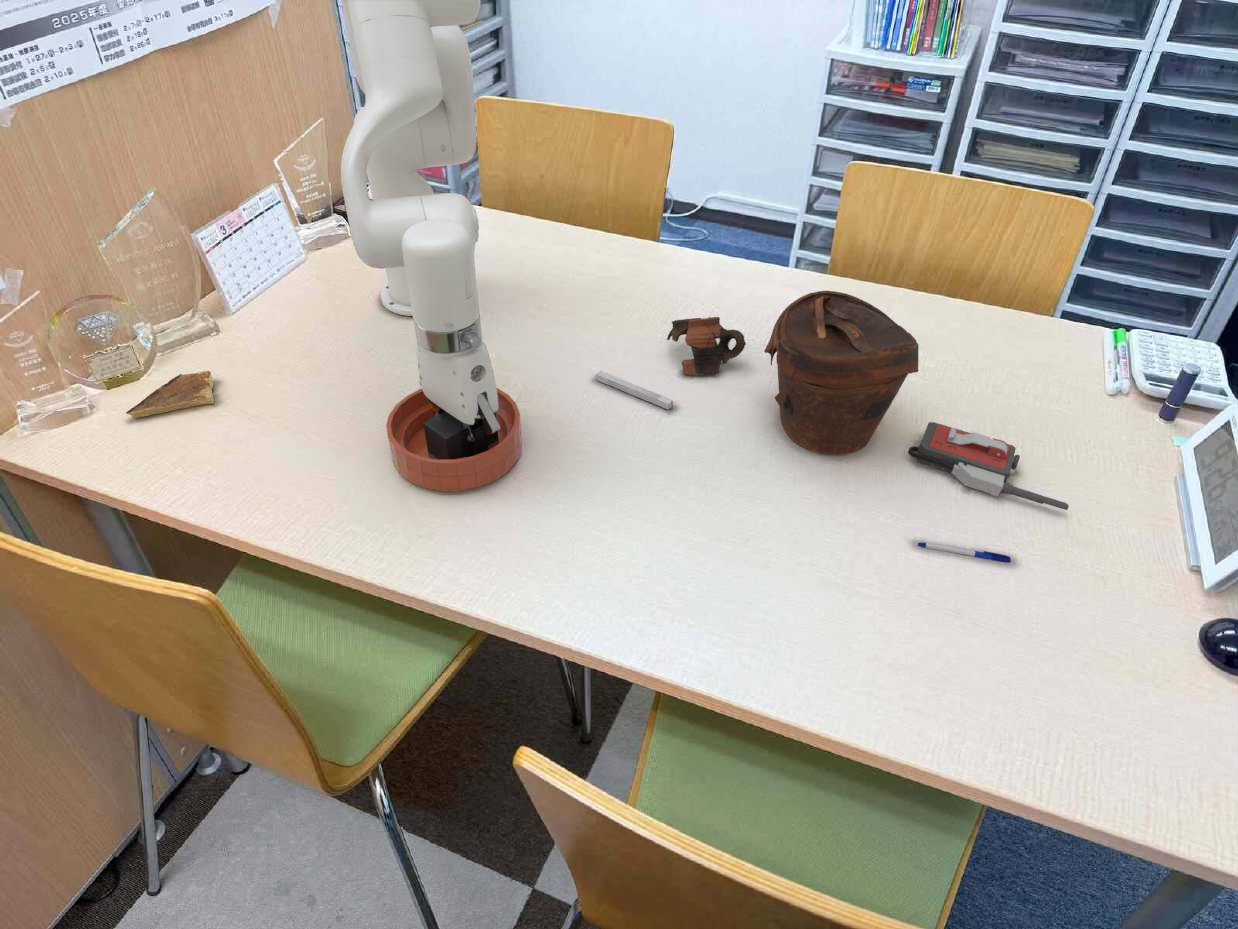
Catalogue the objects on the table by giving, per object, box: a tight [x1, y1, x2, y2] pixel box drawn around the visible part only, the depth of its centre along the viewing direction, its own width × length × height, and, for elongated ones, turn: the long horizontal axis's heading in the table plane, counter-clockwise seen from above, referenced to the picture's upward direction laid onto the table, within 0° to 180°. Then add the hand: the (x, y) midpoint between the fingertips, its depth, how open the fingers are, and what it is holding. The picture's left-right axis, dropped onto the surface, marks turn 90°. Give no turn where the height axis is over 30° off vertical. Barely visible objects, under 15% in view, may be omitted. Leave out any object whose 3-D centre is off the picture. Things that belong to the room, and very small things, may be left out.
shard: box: [125, 370, 215, 419], centre depth 116 cm, size 11×8×2 cm
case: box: [764, 290, 920, 456], centre depth 109 cm, size 18×20×18 cm
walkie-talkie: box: [907, 421, 1070, 511], centre depth 106 cm, size 9×4×20 cm
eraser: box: [423, 411, 499, 460], centre depth 106 cm, size 8×5×6 cm, turn 137°
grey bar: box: [596, 370, 674, 411], centre depth 119 cm, size 12×1×1 cm, turn 56°
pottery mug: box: [666, 316, 747, 376], centre depth 125 cm, size 12×9×8 cm
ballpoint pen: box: [917, 542, 1012, 563], centre depth 97 cm, size 10×1×1 cm, turn 79°
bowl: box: [385, 387, 523, 492], centre depth 107 cm, size 17×17×6 cm
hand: (464, 447), depth 107 cm, fingers closed on eraser, 4 cm apart
